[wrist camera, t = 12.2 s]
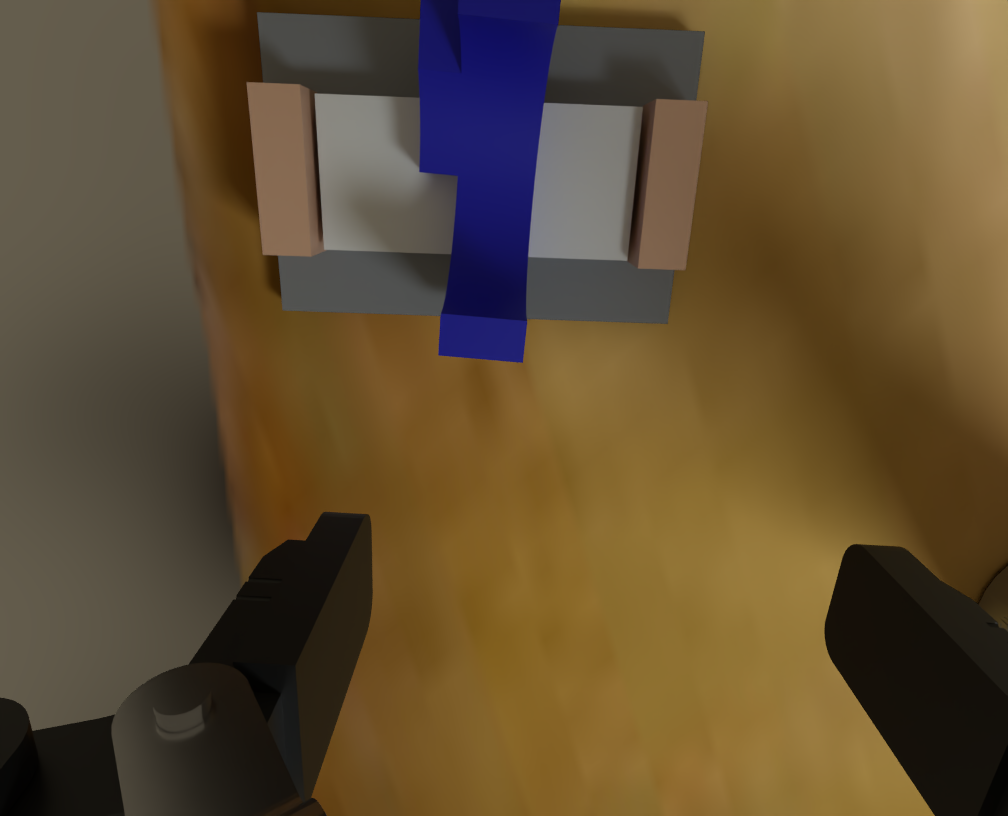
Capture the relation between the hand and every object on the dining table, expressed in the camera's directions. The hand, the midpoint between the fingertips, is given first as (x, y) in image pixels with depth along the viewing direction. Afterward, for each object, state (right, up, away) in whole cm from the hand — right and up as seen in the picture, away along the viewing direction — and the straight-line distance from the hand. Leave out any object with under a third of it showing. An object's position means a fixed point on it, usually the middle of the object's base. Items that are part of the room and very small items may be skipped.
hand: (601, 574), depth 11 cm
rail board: (-3, +13, +18) cm, 22 cm away
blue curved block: (-3, +12, +15) cm, 20 cm away
